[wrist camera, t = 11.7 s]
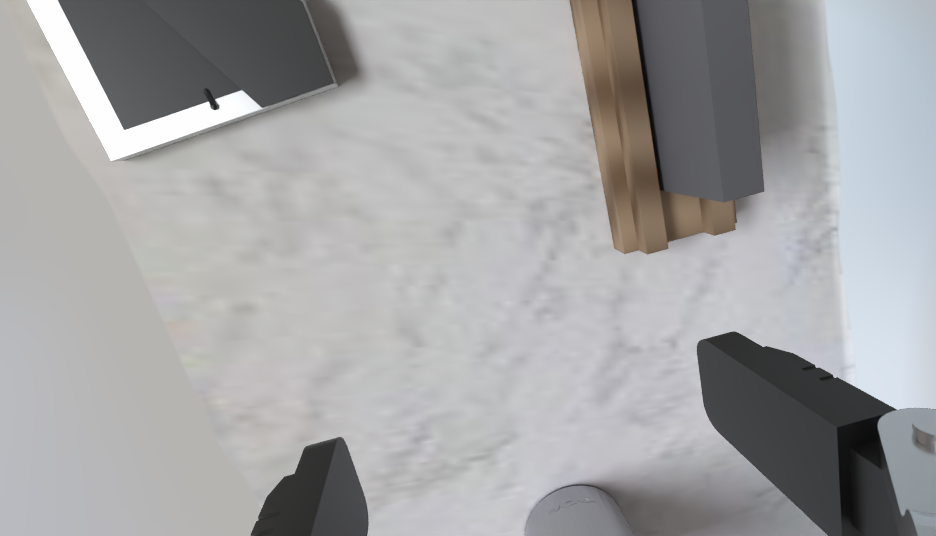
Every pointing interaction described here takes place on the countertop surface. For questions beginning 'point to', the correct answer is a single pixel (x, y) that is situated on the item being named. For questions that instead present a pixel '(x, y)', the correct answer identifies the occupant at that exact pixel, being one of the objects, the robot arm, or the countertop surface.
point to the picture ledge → (609, 143)
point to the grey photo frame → (701, 96)
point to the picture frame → (182, 64)
